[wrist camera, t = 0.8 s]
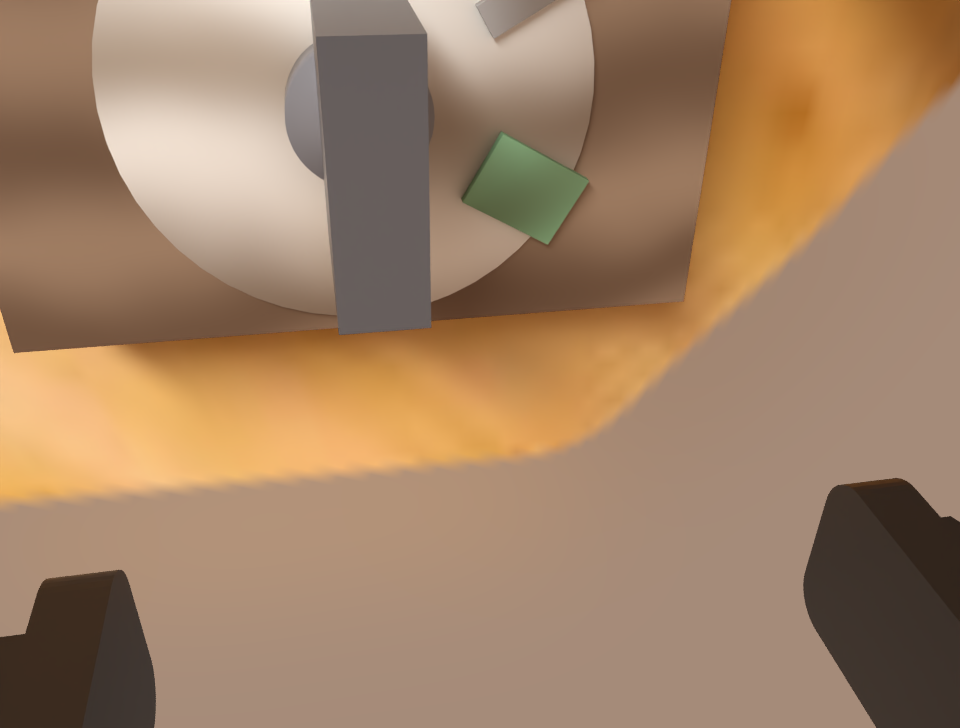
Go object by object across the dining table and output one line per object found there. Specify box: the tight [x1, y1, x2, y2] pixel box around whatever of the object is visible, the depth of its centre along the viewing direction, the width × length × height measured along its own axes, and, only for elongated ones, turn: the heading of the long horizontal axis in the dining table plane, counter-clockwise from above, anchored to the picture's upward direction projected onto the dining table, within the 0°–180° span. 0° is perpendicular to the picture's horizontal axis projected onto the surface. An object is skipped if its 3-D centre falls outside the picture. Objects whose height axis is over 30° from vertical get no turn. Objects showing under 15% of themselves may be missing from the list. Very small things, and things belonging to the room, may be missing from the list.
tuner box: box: [0, 0, 731, 353], centre depth 28 cm, size 15×22×6 cm
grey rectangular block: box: [284, 0, 435, 335], centre depth 23 cm, size 10×4×7 cm, turn 179°
